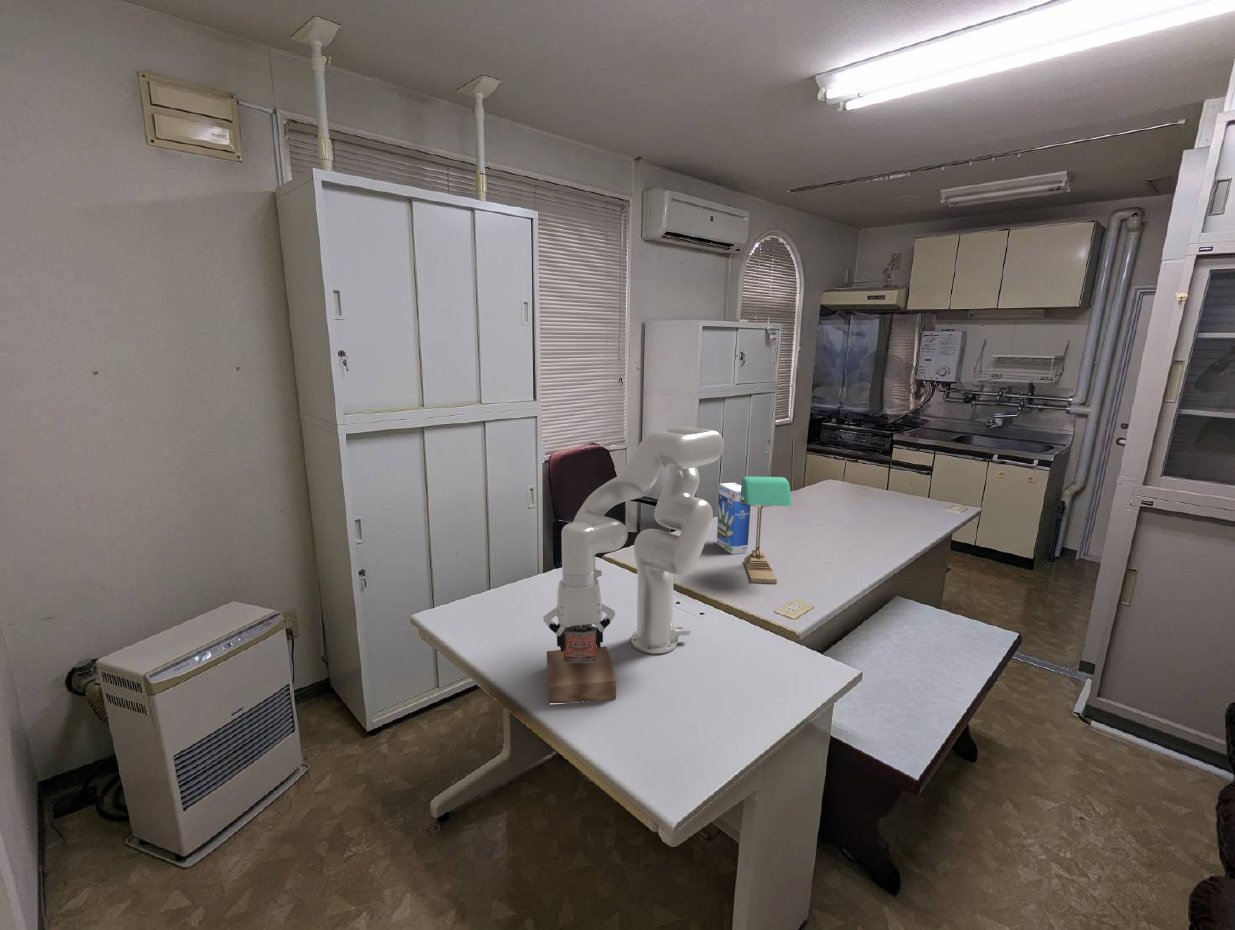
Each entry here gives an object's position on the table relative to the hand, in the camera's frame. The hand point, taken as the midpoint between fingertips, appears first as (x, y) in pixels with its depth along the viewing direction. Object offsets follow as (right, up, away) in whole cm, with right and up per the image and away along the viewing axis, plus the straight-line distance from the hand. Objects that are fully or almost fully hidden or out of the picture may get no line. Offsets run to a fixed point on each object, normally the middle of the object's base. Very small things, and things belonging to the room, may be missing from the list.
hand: (580, 646), depth 127 cm
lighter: (0, -3, +1) cm, 3 cm away
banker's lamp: (+60, +4, +67) cm, 90 cm away
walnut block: (0, -10, +2) cm, 10 cm away
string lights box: (+55, +9, +92) cm, 108 cm away
